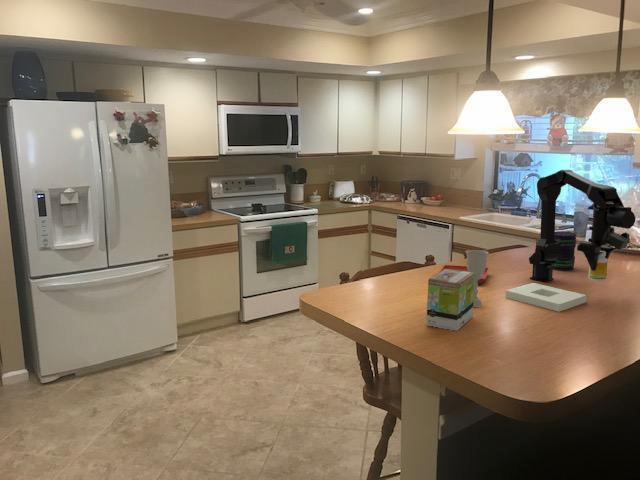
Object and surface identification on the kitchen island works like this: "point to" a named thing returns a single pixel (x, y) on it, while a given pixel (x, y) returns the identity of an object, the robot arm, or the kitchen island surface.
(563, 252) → the storage jar
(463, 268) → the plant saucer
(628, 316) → the kitchen island surface
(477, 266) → the chalice
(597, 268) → the supplement bottle
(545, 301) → the socket board
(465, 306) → the tea box
